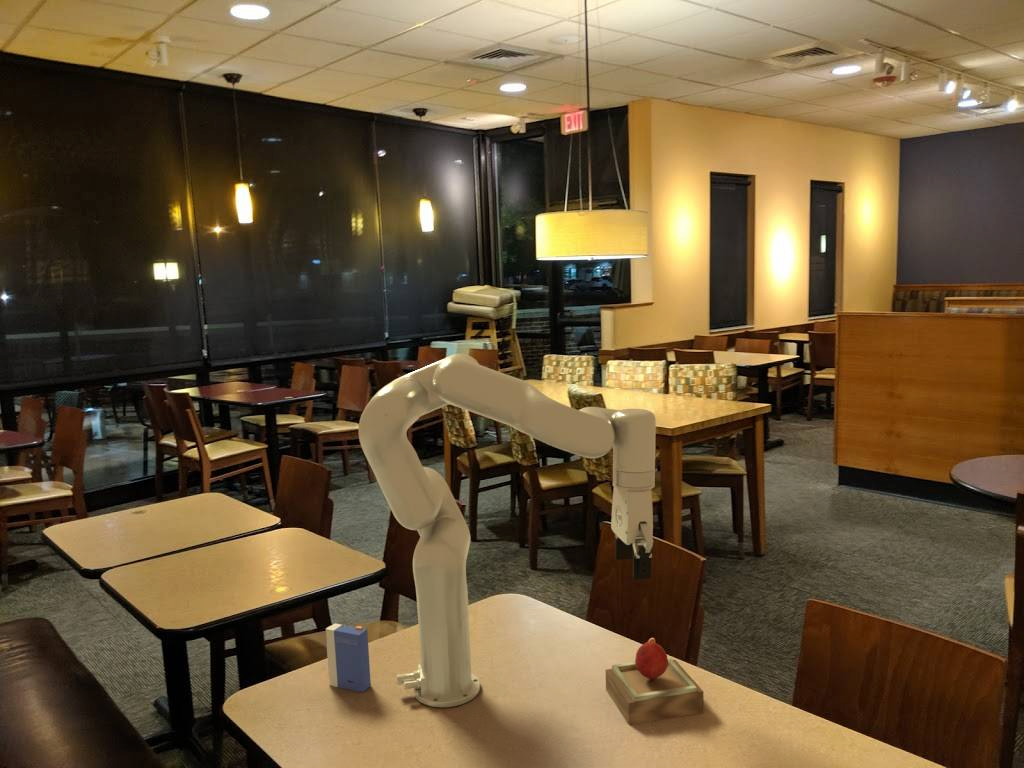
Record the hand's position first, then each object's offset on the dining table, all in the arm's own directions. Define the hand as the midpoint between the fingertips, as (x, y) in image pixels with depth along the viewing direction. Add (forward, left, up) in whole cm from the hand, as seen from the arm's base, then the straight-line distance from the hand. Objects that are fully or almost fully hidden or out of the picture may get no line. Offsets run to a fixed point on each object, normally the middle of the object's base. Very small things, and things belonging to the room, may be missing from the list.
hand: (632, 568), depth 145 cm
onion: (+2, -4, -20) cm, 21 cm away
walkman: (-52, +16, -24) cm, 60 cm away
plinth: (+2, -5, -24) cm, 24 cm away
